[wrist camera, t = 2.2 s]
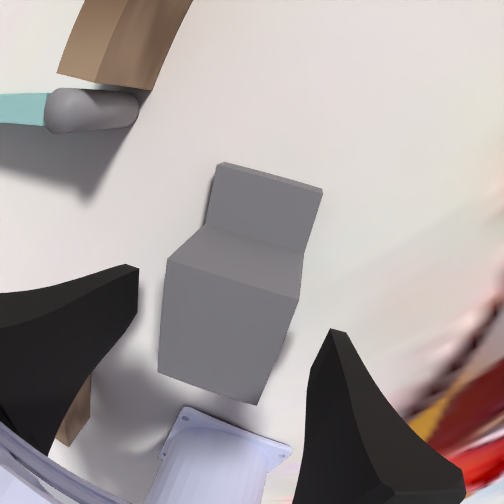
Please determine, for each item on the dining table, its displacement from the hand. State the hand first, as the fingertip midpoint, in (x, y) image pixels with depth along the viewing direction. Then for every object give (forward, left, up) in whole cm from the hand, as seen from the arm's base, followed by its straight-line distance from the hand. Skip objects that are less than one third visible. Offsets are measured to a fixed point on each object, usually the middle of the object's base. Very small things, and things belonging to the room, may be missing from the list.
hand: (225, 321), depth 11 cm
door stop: (+1, 0, -3) cm, 3 cm away
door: (+4, +14, -3) cm, 15 cm away
